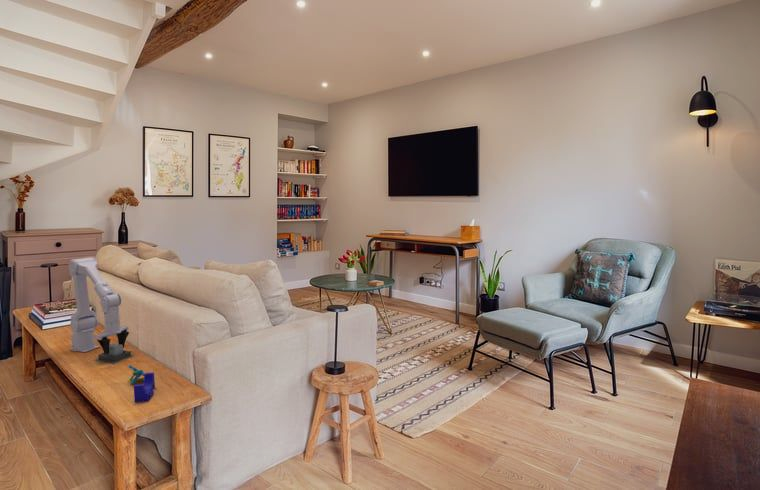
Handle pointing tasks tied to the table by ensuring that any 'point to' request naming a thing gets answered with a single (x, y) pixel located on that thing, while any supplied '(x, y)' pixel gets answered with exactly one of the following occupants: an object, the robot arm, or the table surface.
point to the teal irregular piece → (135, 374)
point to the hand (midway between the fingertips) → (114, 350)
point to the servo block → (115, 349)
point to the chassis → (114, 357)
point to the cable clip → (145, 388)
